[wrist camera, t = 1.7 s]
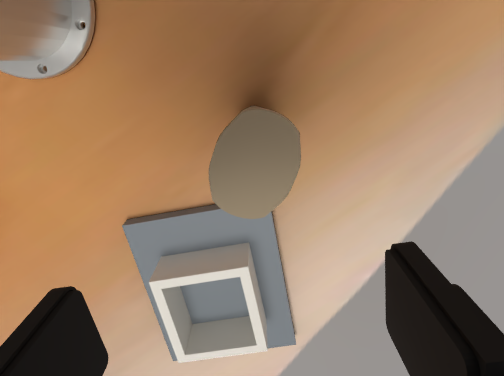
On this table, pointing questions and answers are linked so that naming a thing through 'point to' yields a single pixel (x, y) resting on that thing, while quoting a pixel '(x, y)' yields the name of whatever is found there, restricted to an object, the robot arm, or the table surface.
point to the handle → (254, 163)
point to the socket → (213, 281)
